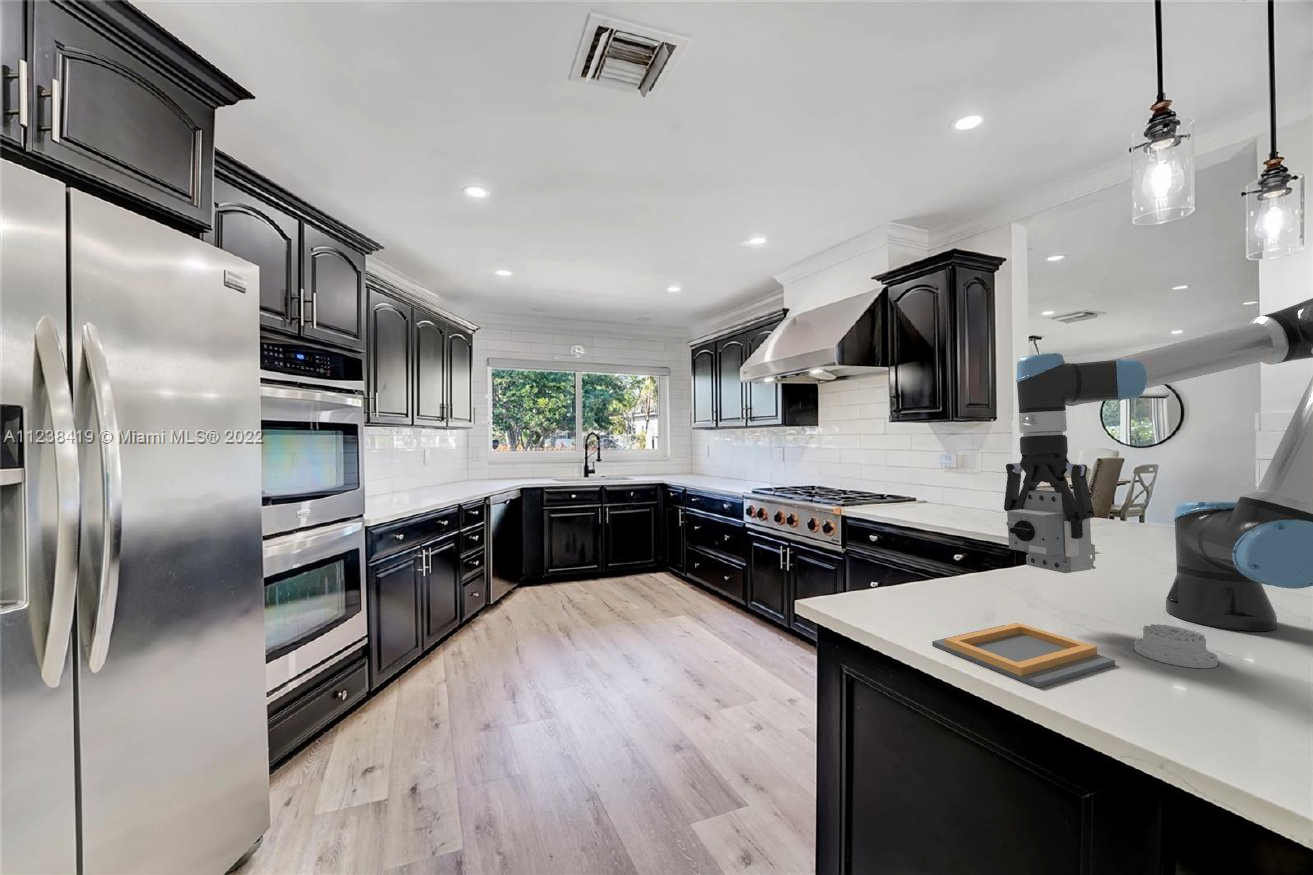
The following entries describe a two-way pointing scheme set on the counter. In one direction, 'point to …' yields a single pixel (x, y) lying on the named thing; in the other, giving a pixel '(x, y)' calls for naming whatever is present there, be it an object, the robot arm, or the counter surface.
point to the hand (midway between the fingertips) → (1048, 551)
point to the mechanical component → (1175, 646)
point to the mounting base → (1026, 653)
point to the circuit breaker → (1048, 533)
